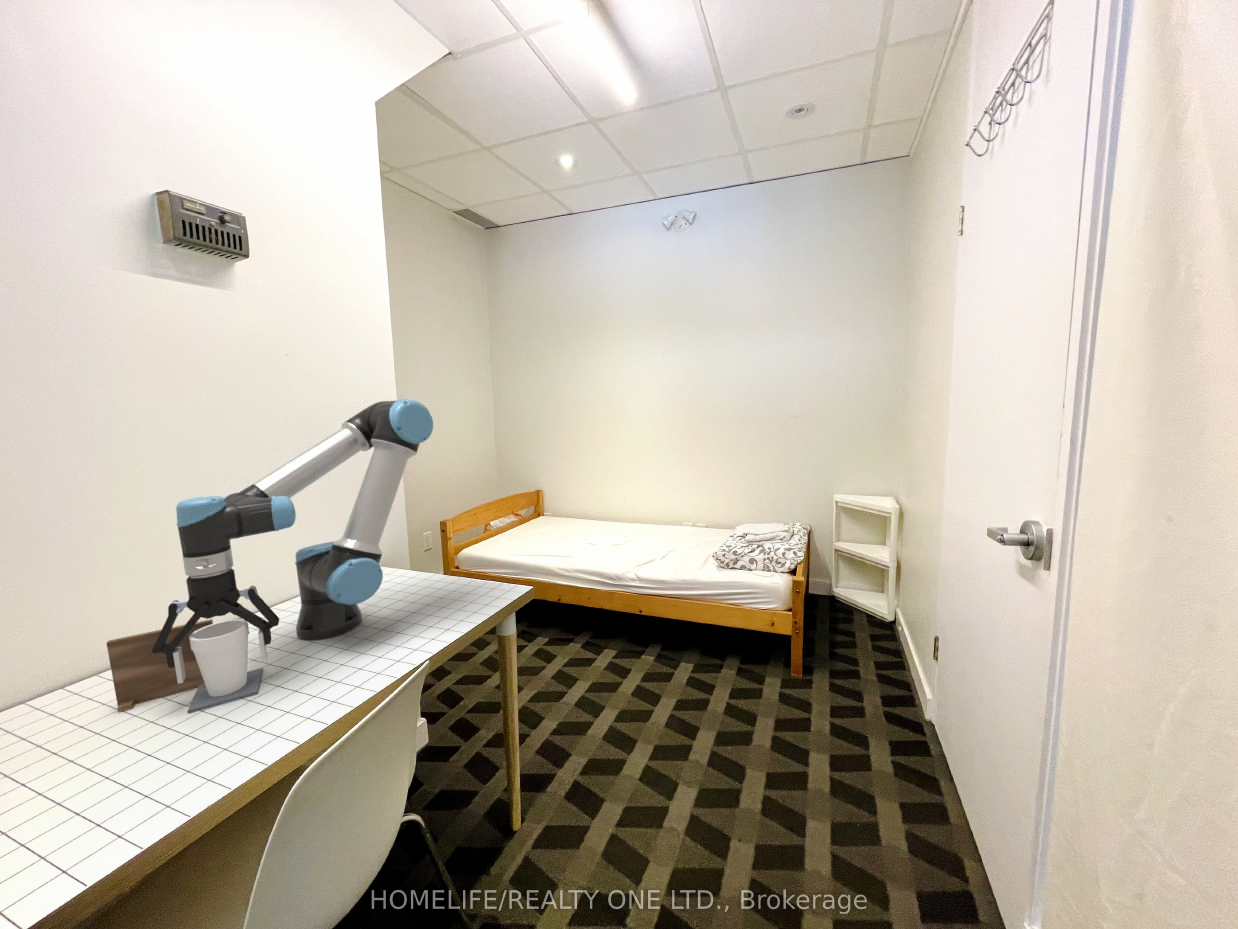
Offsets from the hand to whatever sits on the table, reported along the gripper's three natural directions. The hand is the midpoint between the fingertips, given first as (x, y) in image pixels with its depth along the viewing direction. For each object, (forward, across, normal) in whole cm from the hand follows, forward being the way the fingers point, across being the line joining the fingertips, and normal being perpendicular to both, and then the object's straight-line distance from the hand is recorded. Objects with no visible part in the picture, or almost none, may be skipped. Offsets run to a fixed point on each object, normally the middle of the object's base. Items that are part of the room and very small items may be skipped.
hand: (224, 669), depth 100 cm
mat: (+5, 0, 0) cm, 5 cm away
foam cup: (+4, 0, 0) cm, 4 cm away
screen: (+5, -10, +6) cm, 13 cm away
